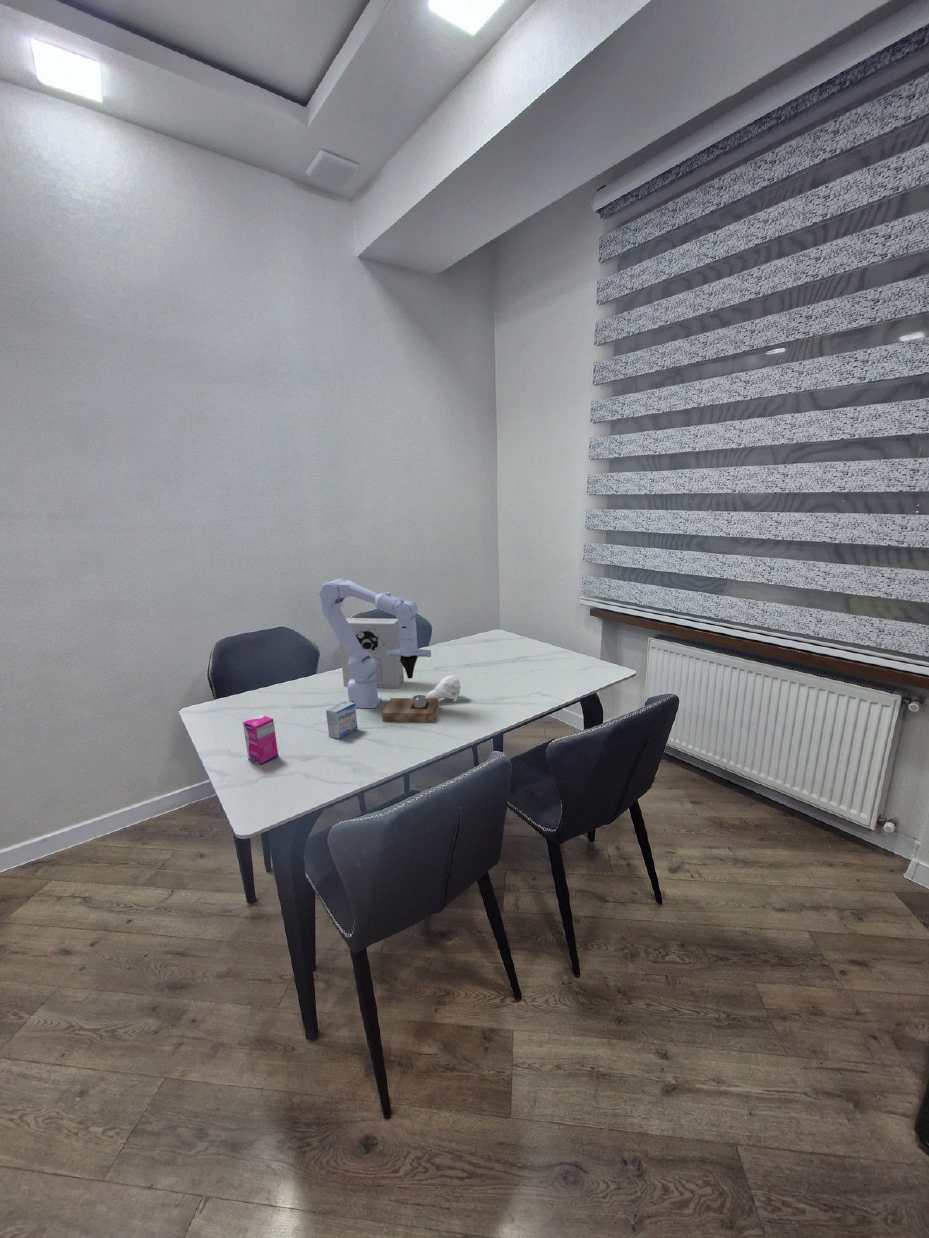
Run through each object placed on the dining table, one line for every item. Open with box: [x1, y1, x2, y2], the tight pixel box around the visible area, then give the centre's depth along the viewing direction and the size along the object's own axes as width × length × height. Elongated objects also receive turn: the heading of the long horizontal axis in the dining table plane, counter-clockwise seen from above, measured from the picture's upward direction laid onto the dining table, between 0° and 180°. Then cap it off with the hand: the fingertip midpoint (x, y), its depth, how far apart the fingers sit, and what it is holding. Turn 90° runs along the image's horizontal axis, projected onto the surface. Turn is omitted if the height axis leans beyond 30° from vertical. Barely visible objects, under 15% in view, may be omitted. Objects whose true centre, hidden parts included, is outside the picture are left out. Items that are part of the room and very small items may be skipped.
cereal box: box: [339, 617, 405, 689], centre depth 185 cm, size 22×8×25 cm, turn 80°
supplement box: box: [242, 713, 279, 766], centre depth 133 cm, size 6×6×12 cm
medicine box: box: [325, 700, 358, 740], centre depth 147 cm, size 8×4×9 cm, turn 148°
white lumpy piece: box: [426, 674, 462, 703], centre depth 169 cm, size 6×8×12 cm
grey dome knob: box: [412, 694, 427, 709], centre depth 159 cm, size 4×4×6 cm
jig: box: [381, 697, 439, 723], centre depth 160 cm, size 16×12×3 cm
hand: (410, 677), depth 164 cm, fingers closed
